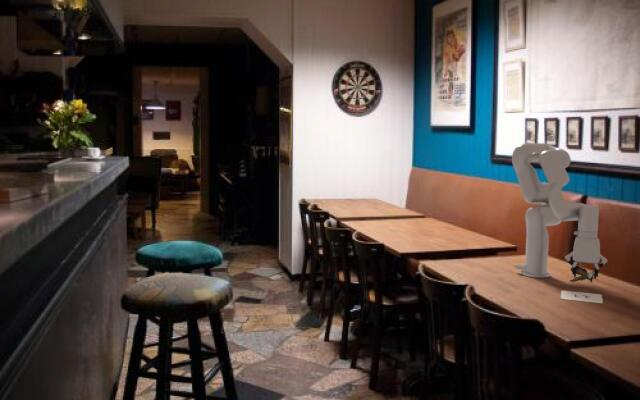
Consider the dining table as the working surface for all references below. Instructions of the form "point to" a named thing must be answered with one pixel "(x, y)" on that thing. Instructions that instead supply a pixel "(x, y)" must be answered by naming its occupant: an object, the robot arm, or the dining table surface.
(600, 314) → the dining table surface
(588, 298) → the white square panel
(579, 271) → the eagle figurine
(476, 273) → the dining table surface
